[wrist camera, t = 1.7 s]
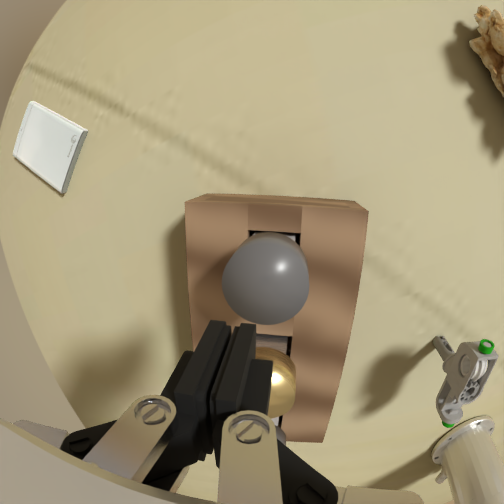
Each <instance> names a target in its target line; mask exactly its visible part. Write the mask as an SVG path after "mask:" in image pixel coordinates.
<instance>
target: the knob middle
mask: <svg viewBox="0 0 504 504" xmlns="http://www.w3.org/2000/svg"><path fill="white" fill-rule="evenodd" d="M287 338H288V336H281V335H269V334H258V333H256V358H255V359H261V360H273V374H272V385H271V394H270V401H269V409H268V417H270V418H271V419H272V418H276V417H279V416H281V415H283V414H285V413H287V412H288V411H289V410H290V409H291V408H292V406H293V404H294V402H295V390H296V367H295V364H294V362H293V361H292V360H291V359H290V357H289V356H287V355H286V350H287Z"/></svg>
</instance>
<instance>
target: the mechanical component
mask: <svg viewBox="0 0 504 504" xmlns="http://www.w3.org/2000/svg"><path fill="white" fill-rule="evenodd" d="M433 344H434V346H435V348H436V349H437V351H438V353H439V354H440V356H441V358H442V359H443V361H444V363H443V370H444V372H446V373H447V376H446V378H445V380H444V382H443V385H442V387H441V389H440V391H439V393H438V395H437V398H436V408H437V411H438V413H439V415H440V418H441V420H442V424H443V425H444V426H445V427H447V428H450V427H453V426H454V424H455V423H458V422H459V421H460V419H461V418H462V416H463V411H462V409H461V407H462V405H463V404H469V403H471V402H473V401H474V400H476V399H477V398H478V397H479V396H480V394H481V393H482V391H483V387H484V385H485V383H486V381H487V379H488V377H489V375H490V373H491V371H492V369H493V367H494V365H495V363H496V361H497V358H498V354H497V353H496V352H495V351H494V349H493V348H494V343H493V342H491V341H489V340H486V339H483V340H481V341H479V342H463V343H461V344H460V345H459V347H458V350H457V352H456V353H455V352H454V351H453V349H452V348H451V346H450V345H449V343H448V342H447V340H446V339H445V338H444V336H443V337H442V339H440V337H437V336H436V337H435V338H434V340H433ZM487 360H488V367H487ZM486 368H487V370H486ZM485 371H486V372H485Z"/></svg>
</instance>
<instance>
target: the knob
mask: <svg viewBox="0 0 504 504" xmlns="http://www.w3.org/2000/svg"><path fill="white" fill-rule="evenodd" d="M222 290H223V294H224V297H225V299H226V301H227V303H228V305H229V306H230V307H231V309H232V310H233V311H234V312H235V313H236V314H238V315H239V316H240V317H242V318H243V319H245V320H247V321H250V322H252V323H256V324H261V325H274V324H279V323H282V322H285V321H287V320H289V319H291V318H292V317H294V316H295V315H296V314H297V313H298V312H299V311H300V310H301V309H302V307H303V306H304V304H305V302H306V300H307V297H308V294H309V274H308V263H307V259H306V256H305V254H304V252H303V250H302V249H301V247H300V246H299V245H298V244H297V243H296V242H295V233H292V232H276V231H258V230H256V231H255V233H254V234H253V236H251V237H249V238H247V239H246V240H245V241H243V242H242V244H241V245H240V246H239V247H238V249H237V250H236V251H235V253H234V254H233V256H232V257H231V259H230V260H229V262H228V263H227V265H226V267H225V269H224V272H223V276H222Z"/></svg>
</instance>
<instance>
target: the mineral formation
mask: <svg viewBox="0 0 504 504" xmlns="http://www.w3.org/2000/svg"><path fill="white" fill-rule="evenodd" d="M474 17H475V19H476V22H478V24H479V27H478V29H477V30H478V32H479V33H480V34H481V37H479V38H475V39H472V40H470V41H469V43H470V47H471V48H472V49H473V51H474V52H476V53H477V54H479V56H480V58H481V59H482V62H483V64H484V65H485V67H486V68H488V69H489V71H490V72H491V78H492V80H493V81H494V84H495V86H496V88H497V89H498V90H499V91H500V92H501V93H502V96H503V97H504V19H503V17H502V15H501V13H500V12H499V11H497V10H495V9H494V10H493V12H491V11H490V10H489V8H487V7H486V6H482V5H481V6H480V7H478V11H477V13H476V14H475V15H474Z"/></svg>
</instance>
